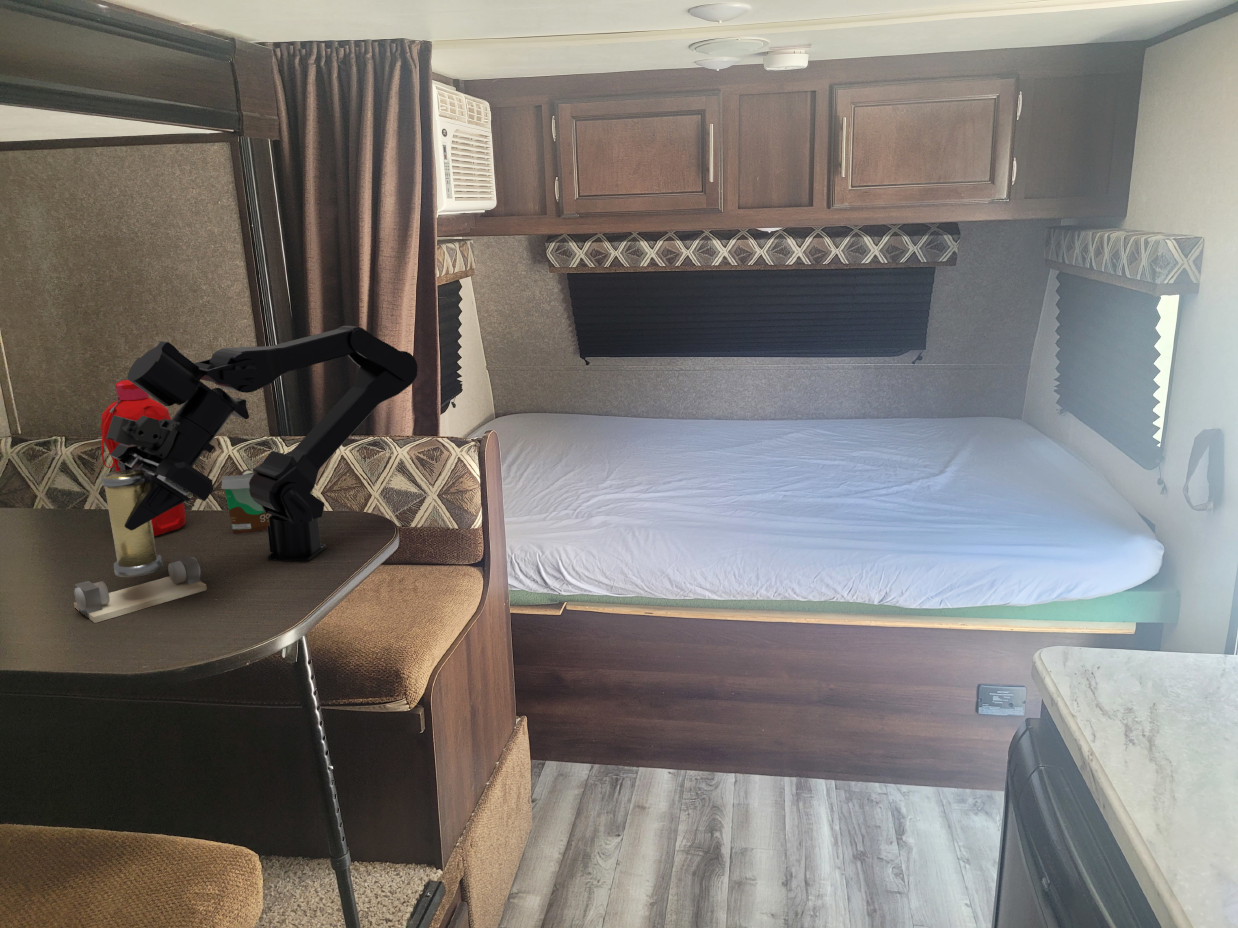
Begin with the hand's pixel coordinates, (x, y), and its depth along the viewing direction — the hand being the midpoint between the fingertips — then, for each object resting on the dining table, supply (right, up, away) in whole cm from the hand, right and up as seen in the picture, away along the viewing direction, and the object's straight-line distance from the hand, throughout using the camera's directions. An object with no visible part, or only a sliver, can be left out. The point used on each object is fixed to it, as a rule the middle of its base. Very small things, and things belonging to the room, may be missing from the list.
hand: (120, 524), depth 113 cm
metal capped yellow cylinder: (+1, -6, +3) cm, 7 cm away
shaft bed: (+1, -10, +4) cm, 11 cm away
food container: (+5, -3, +34) cm, 34 cm away
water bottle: (-13, -3, +31) cm, 34 cm away
